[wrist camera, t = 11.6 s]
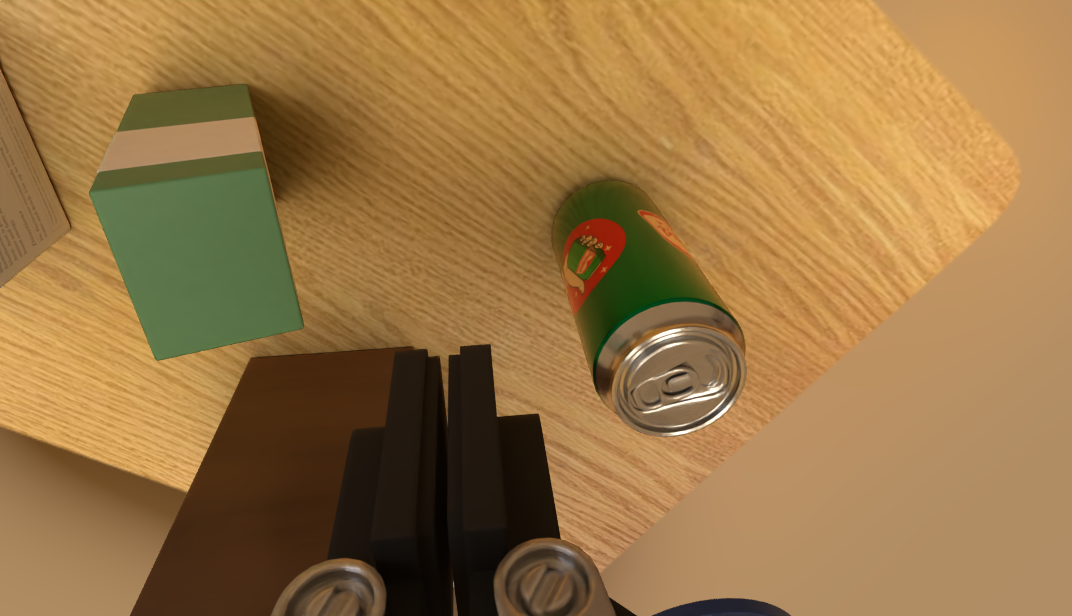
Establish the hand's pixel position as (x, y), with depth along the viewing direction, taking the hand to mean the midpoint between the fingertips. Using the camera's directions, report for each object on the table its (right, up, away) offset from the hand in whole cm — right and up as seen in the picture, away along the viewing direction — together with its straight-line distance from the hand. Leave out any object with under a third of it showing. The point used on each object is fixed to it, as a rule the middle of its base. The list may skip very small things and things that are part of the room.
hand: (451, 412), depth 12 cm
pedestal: (-9, -4, +22) cm, 24 cm away
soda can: (+5, +6, +19) cm, 20 cm away
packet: (-8, +6, +11) cm, 14 cm away
